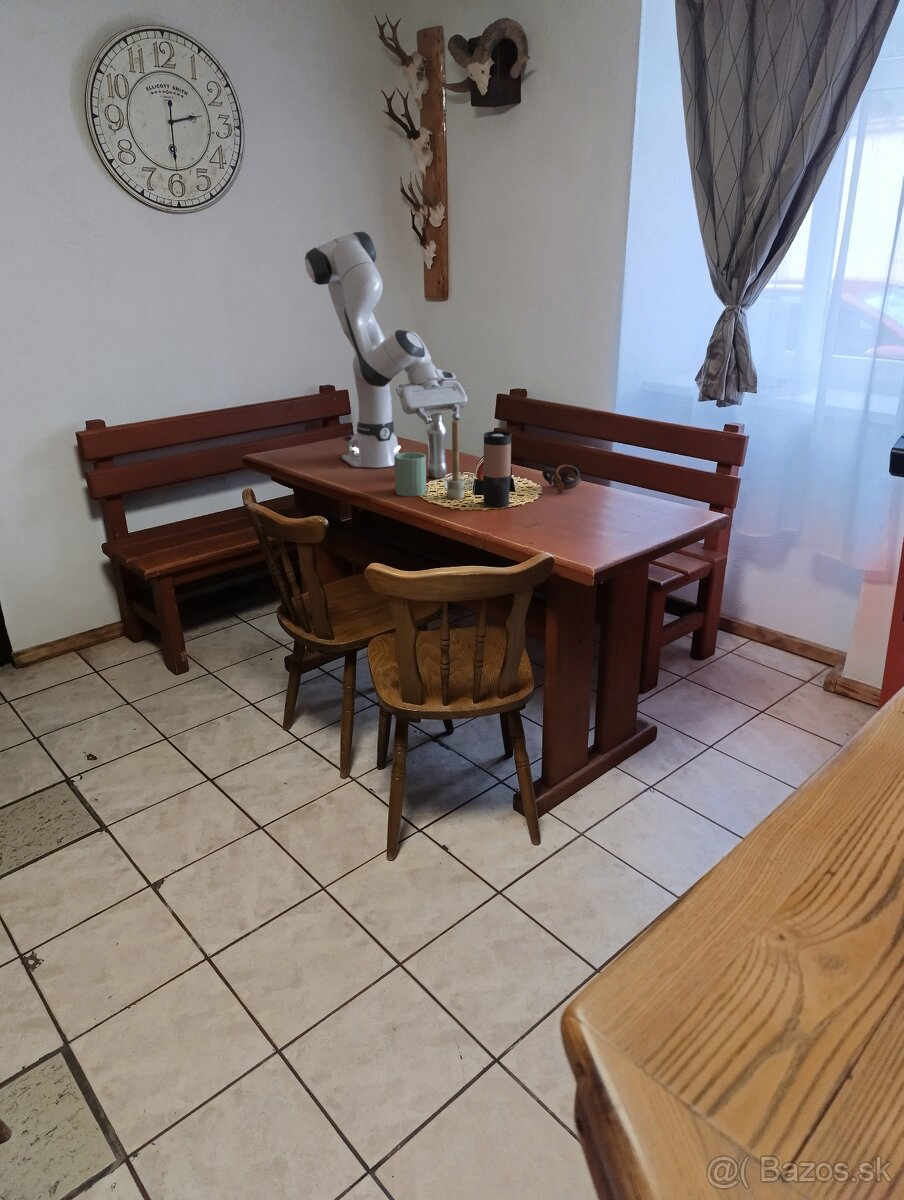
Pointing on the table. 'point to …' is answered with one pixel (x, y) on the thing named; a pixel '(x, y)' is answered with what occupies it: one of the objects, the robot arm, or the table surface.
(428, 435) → the silver metal bottle
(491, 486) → the travel mug
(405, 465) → the cup
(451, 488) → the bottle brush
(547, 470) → the dark looped ring
